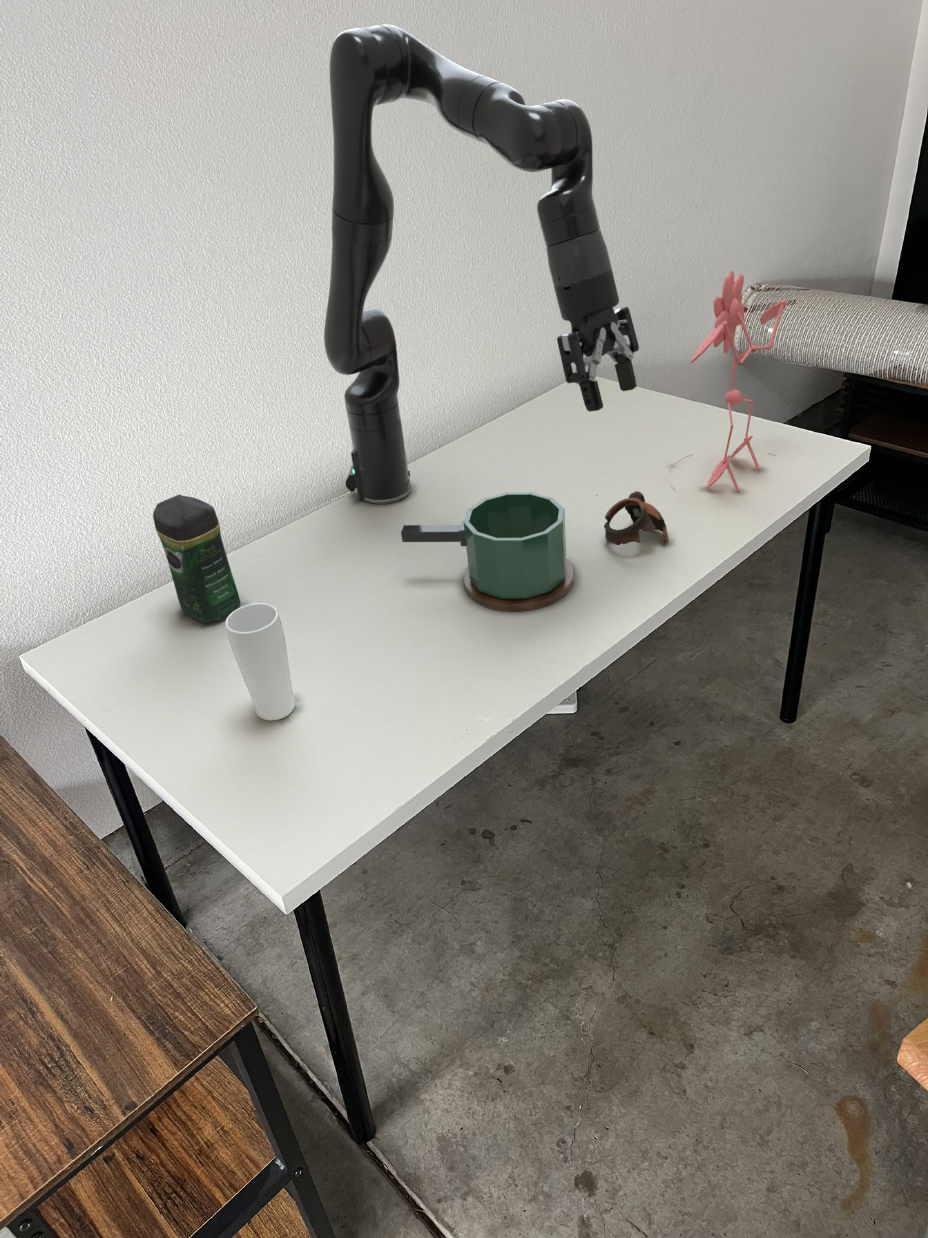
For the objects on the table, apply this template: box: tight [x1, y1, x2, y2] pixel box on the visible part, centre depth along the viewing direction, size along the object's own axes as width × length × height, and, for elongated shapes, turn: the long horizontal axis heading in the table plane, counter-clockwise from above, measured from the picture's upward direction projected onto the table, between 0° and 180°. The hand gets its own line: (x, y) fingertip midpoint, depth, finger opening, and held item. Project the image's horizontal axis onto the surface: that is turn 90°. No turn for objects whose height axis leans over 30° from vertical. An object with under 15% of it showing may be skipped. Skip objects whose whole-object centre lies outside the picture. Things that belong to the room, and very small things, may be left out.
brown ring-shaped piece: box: [603, 490, 669, 546], centre depth 154 cm, size 12×10×8 cm
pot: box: [400, 491, 567, 599], centre depth 145 cm, size 25×15×10 cm, turn 81°
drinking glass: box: [224, 602, 296, 721], centre depth 123 cm, size 7×7×15 cm
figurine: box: [665, 270, 787, 492], centre depth 161 cm, size 15×26×35 cm, turn 144°
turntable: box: [463, 557, 575, 613], centre depth 147 cm, size 17×17×1 cm
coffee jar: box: [152, 494, 242, 624], centre depth 144 cm, size 10×8×19 cm
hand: (612, 399), depth 126 cm, fingers open, 8 cm apart
